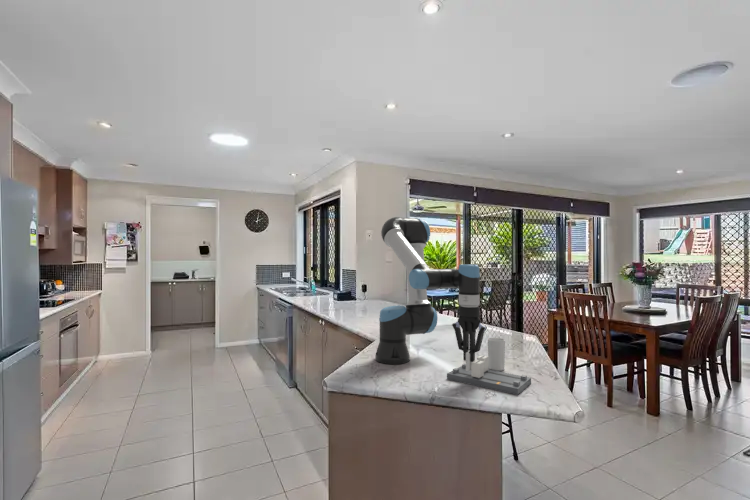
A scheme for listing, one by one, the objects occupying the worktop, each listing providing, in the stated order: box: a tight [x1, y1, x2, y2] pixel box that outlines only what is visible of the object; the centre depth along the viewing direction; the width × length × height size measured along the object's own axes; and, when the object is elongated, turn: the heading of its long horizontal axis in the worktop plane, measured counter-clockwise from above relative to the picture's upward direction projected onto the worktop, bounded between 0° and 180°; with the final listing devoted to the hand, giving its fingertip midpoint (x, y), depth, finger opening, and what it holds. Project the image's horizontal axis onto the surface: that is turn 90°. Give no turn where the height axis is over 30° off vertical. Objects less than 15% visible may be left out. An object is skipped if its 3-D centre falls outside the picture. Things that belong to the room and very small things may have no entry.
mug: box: [487, 337, 506, 372], centre depth 156 cm, size 10×7×12 cm, turn 162°
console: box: [446, 363, 532, 396], centre depth 138 cm, size 26×15×3 cm, turn 52°
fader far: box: [476, 355, 489, 372], centre depth 144 cm, size 3×4×5 cm
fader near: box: [472, 359, 484, 378], centre depth 137 cm, size 3×4×5 cm
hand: (469, 369), depth 139 cm, fingers closed
